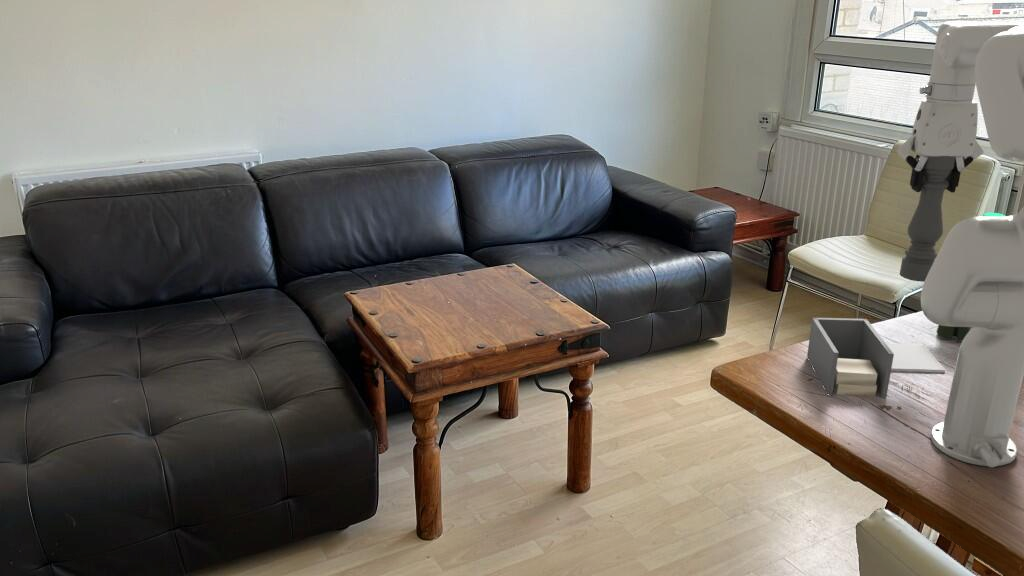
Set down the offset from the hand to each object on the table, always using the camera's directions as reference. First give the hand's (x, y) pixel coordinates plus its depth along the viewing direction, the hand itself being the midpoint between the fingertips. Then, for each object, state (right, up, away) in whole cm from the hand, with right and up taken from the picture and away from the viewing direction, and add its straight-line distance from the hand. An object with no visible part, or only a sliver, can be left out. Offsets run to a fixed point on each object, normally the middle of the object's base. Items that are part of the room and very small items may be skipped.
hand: (932, 189), depth 154 cm
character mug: (+15, -30, +22) cm, 40 cm away
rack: (-14, -36, +6) cm, 39 cm away
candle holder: (0, -16, +6) cm, 18 cm away
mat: (0, -33, +13) cm, 35 cm away
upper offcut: (-15, -36, +1) cm, 39 cm away
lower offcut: (-15, -38, +2) cm, 41 cm away
